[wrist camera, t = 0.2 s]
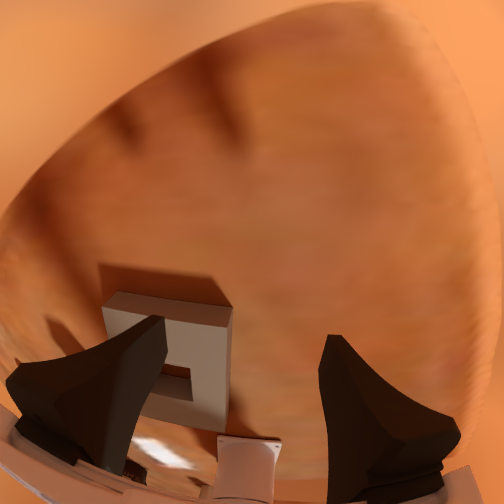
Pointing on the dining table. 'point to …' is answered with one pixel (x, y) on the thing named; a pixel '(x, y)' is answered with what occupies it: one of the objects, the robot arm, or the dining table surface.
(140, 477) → the coffee mug
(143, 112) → the dining table surface
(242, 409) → the dining table surface
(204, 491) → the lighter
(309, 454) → the dining table surface
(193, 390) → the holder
